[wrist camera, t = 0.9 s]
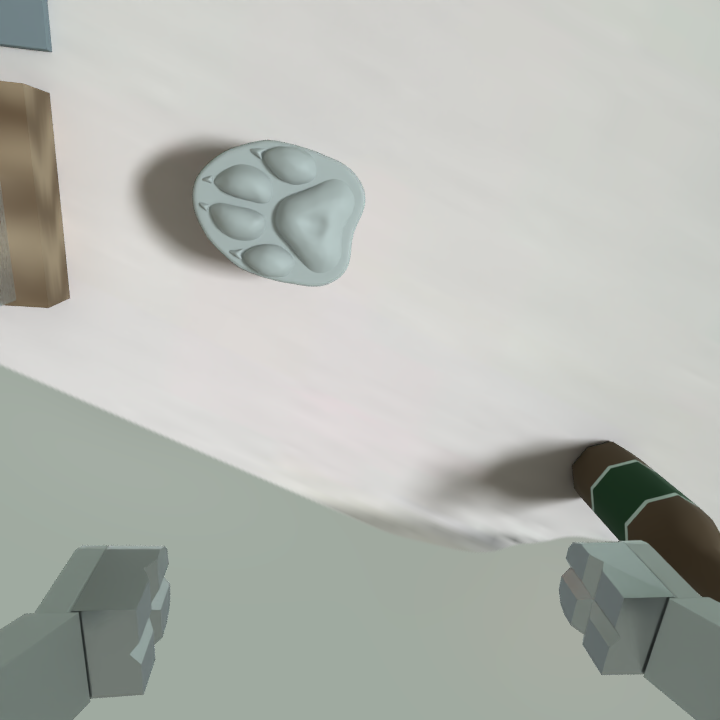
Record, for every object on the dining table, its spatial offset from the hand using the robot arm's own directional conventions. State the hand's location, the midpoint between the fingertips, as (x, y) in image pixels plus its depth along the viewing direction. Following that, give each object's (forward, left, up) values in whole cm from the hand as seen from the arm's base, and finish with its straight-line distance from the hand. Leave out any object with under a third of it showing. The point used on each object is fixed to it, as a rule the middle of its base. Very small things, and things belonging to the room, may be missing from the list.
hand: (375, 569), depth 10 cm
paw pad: (-5, -4, -40) cm, 40 cm away
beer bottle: (+21, +34, -40) cm, 56 cm away
